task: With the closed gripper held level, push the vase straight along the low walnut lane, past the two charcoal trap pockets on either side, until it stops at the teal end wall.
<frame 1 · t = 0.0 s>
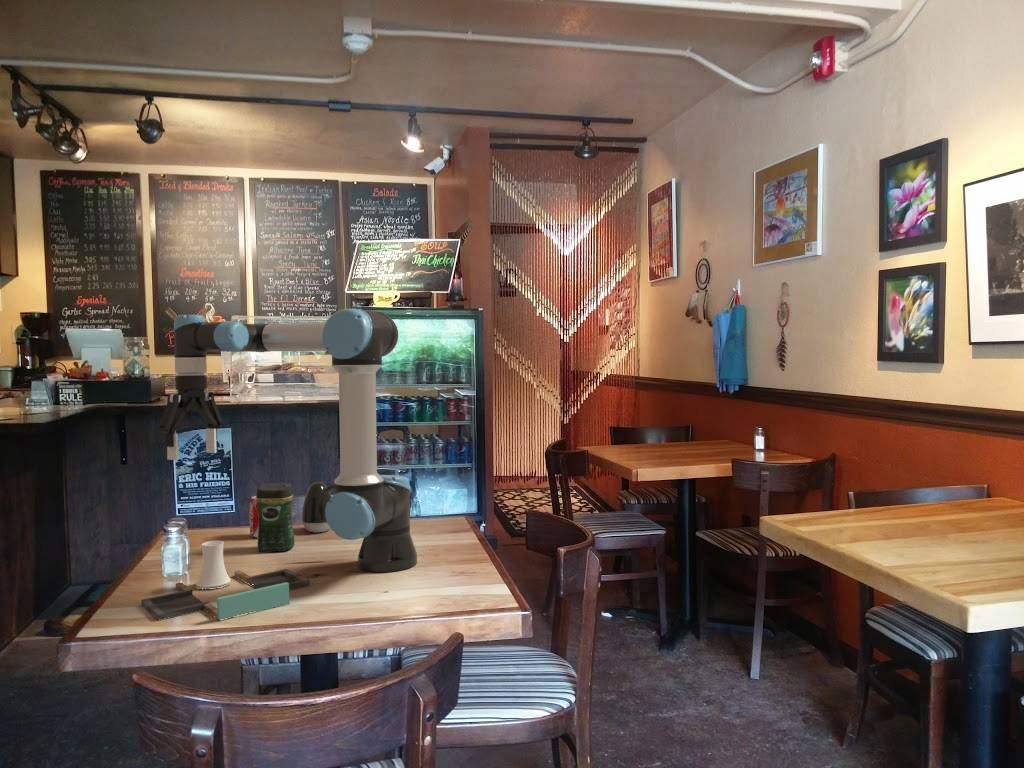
hand: (192, 456, 184), 28 cm above the table, tool pointing down, fingers open, 13 cm apart
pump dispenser: (319, 531, 219), on the table
soda can: (262, 537, 212), on the table
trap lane: (228, 594, 159), on the table
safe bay: (242, 603, 153), on the table
vase: (213, 586, 166), on the table
coffee jar: (276, 549, 198), on the table
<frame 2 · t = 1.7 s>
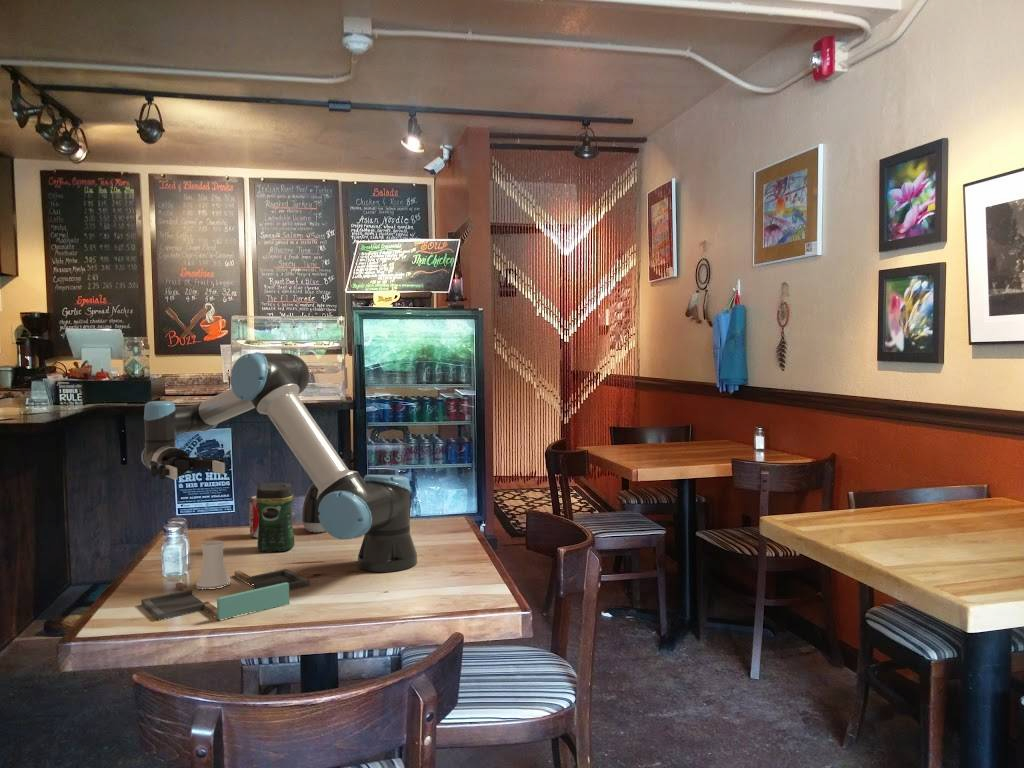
hand: (199, 471, 171), 26 cm above the table, tool horizontal, fingers open, 10 cm apart
nothing on the table moved.
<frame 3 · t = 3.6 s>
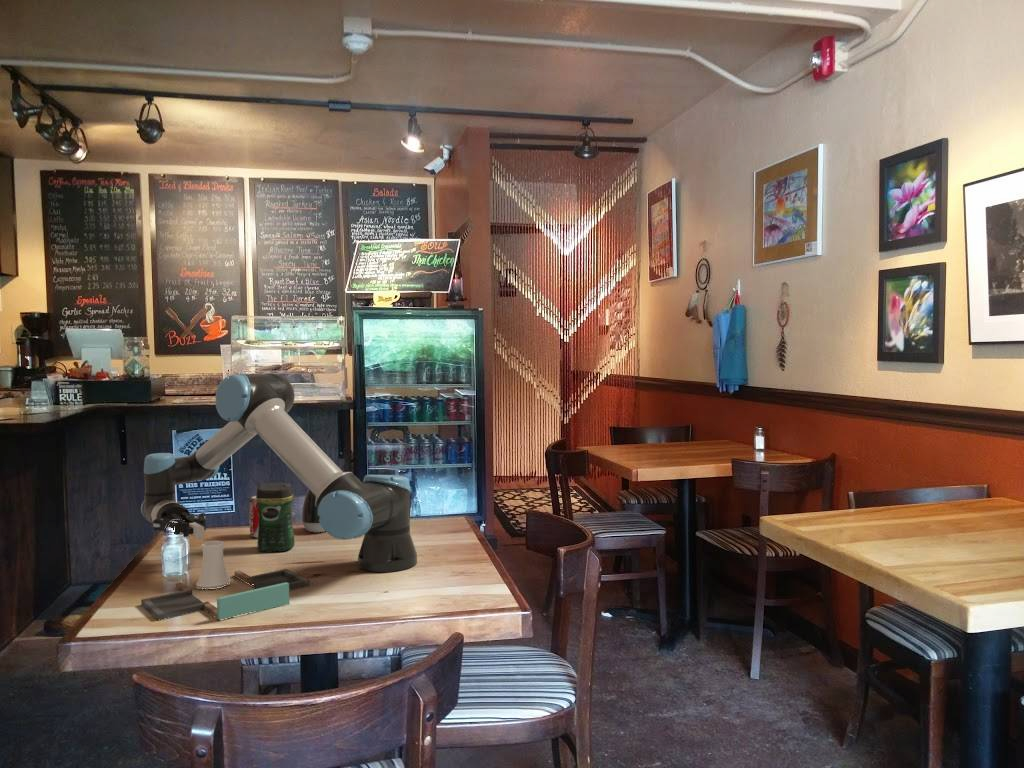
hand: (201, 533, 171), 11 cm above the table, tool horizontal, fingers closed
nothing on the table moved.
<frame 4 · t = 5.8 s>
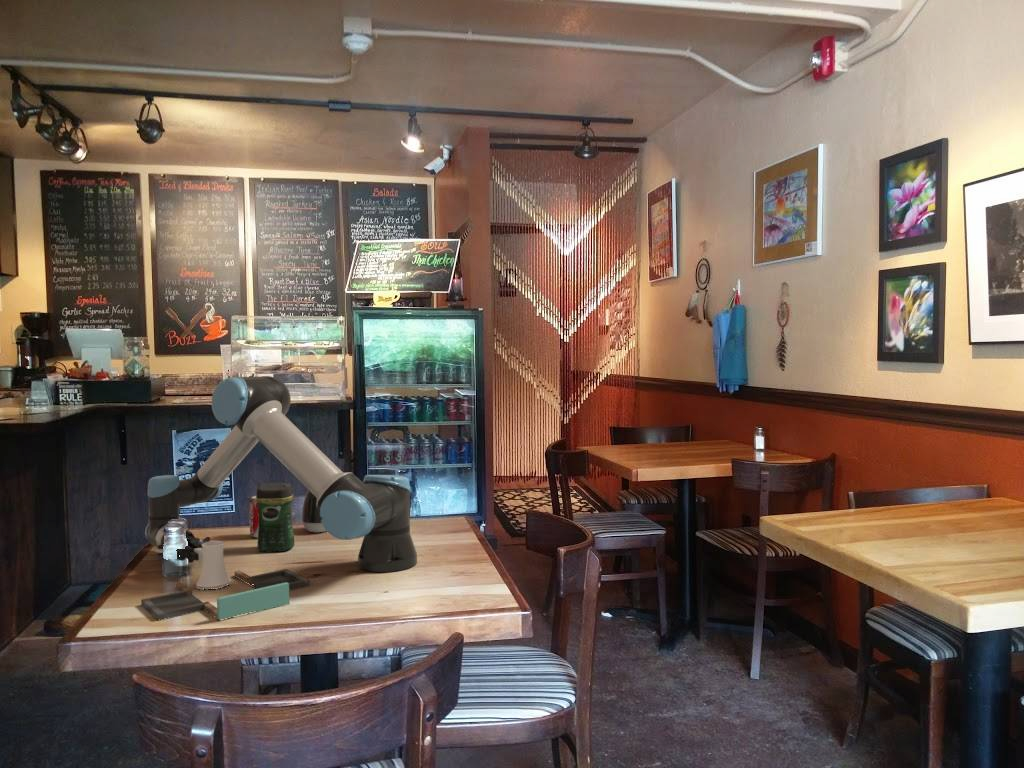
hand: (206, 559, 167), 6 cm above the table, tool horizontal, fingers closed
vase: (213, 586, 166), on the table, touching gripper
everything else where it was.
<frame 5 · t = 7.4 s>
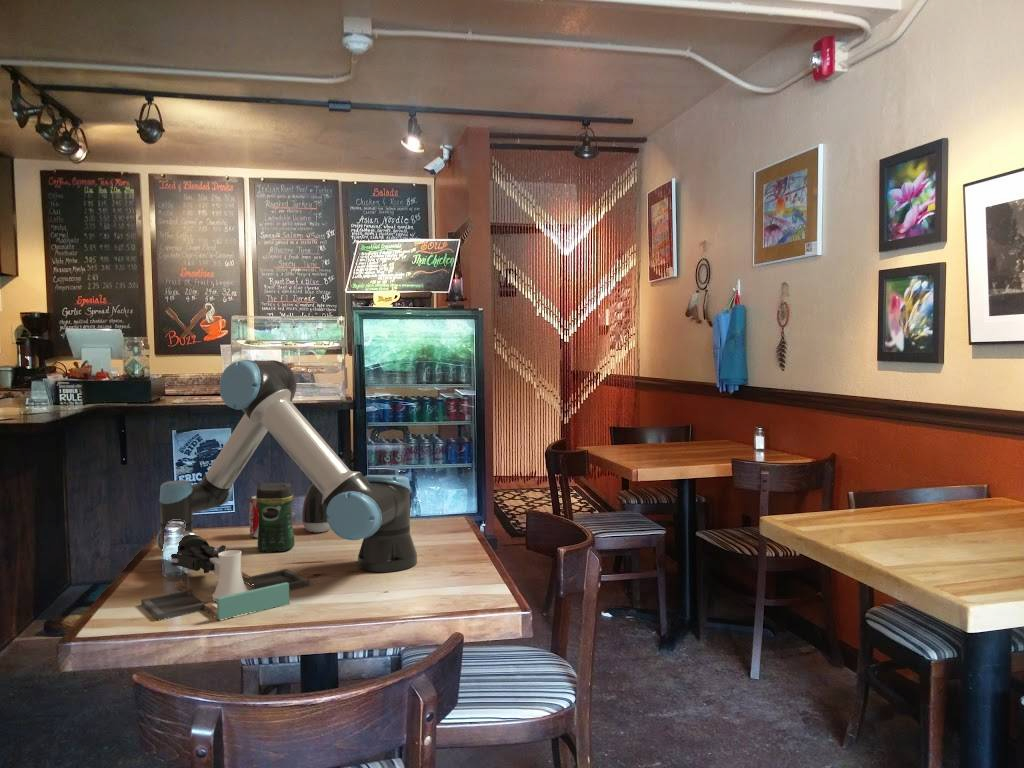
hand: (223, 569, 159), 6 cm above the table, tool horizontal, fingers closed
vase: (230, 598, 157), on the table, touching gripper
everything else where it was.
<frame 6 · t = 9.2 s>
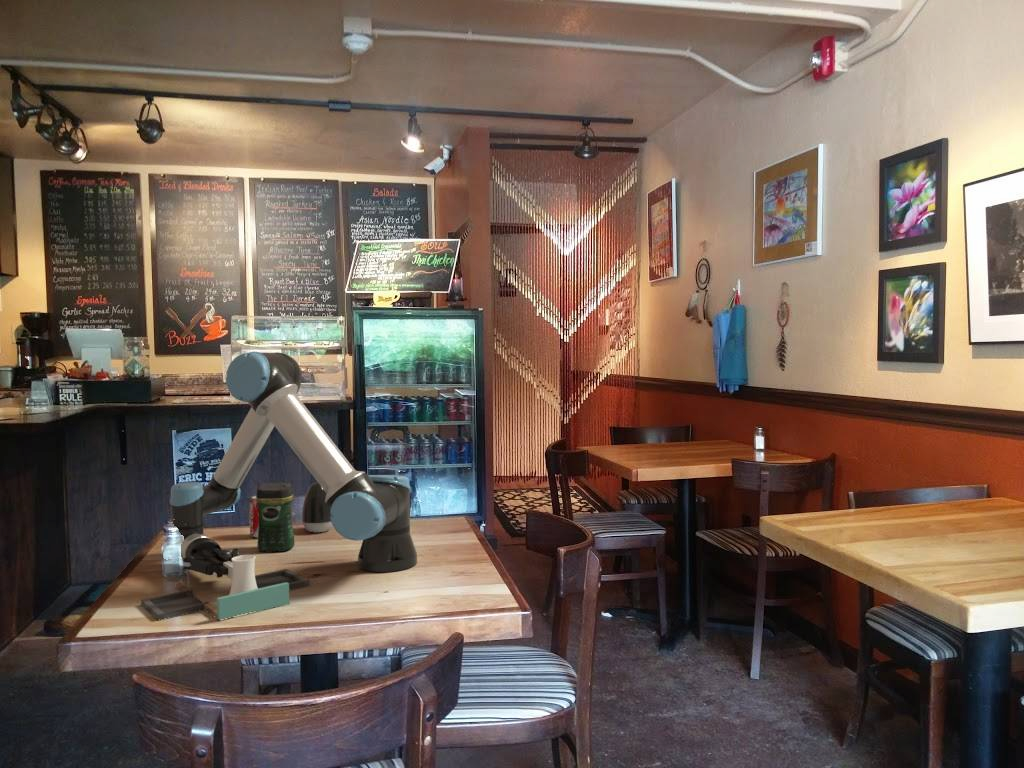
hand: (237, 573, 155), 6 cm above the table, tool horizontal, fingers closed
vase: (244, 604, 153), on the table, touching gripper
everything else where it was.
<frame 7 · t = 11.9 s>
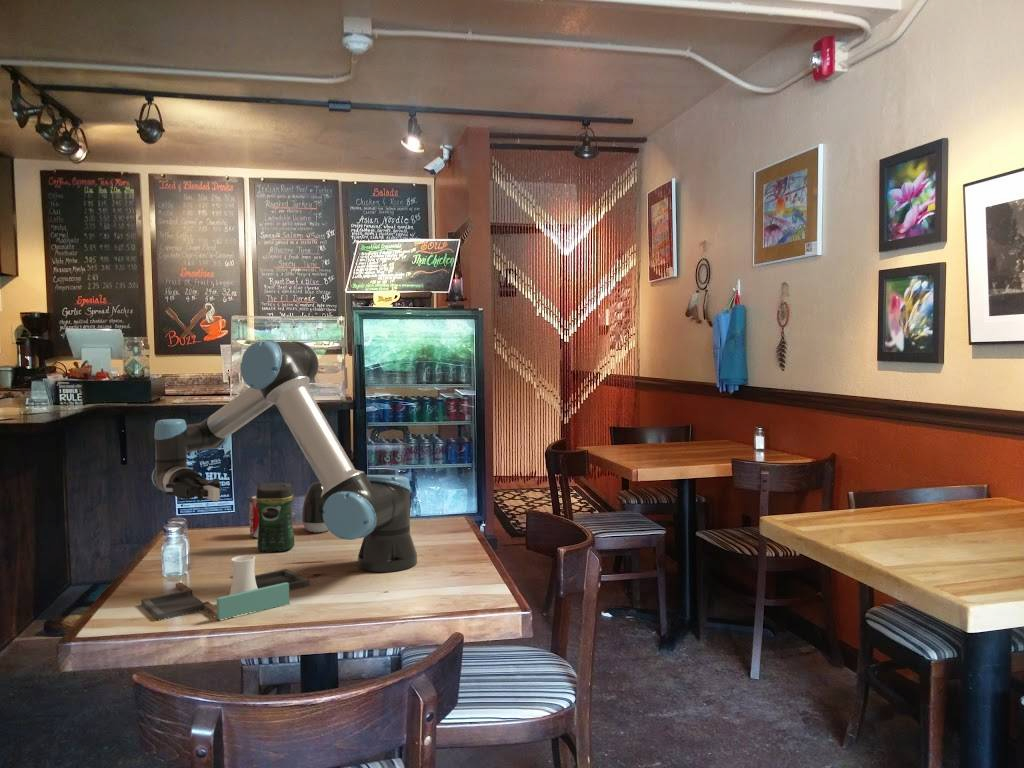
hand: (216, 494, 163), 22 cm above the table, tool horizontal, fingers closed
vase: (244, 604, 153), on the table
everything else where it was.
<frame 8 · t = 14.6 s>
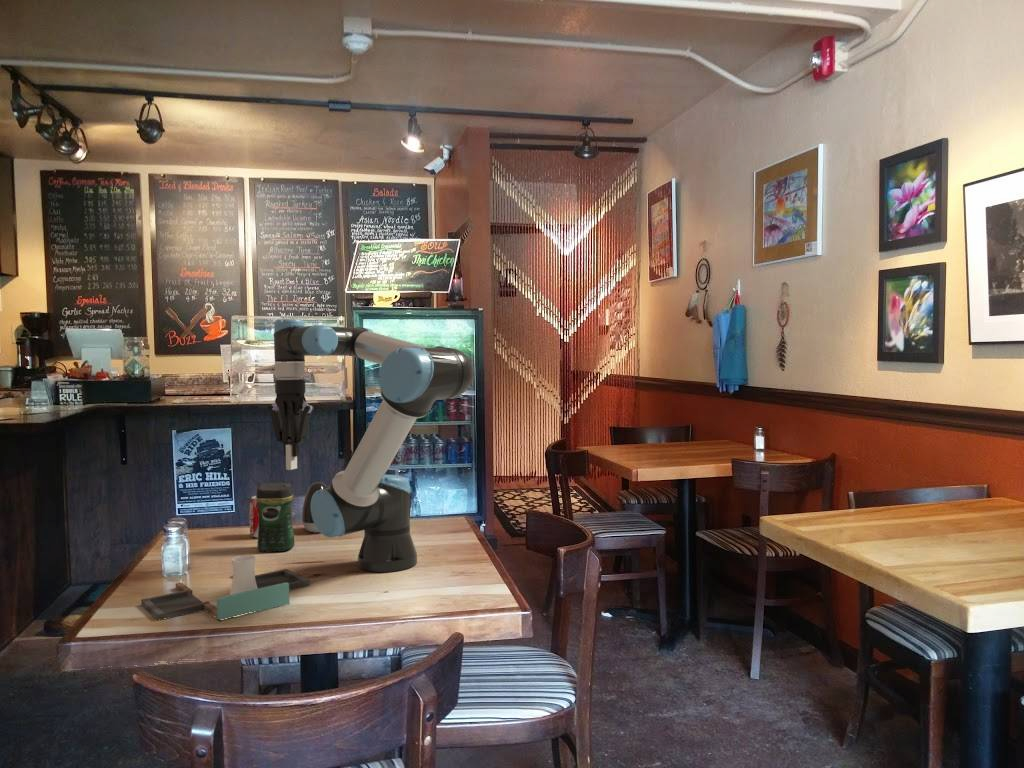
hand: (291, 468, 185), 24 cm above the table, tool pointing down, fingers closed
nothing on the table moved.
at the end: vase 0.4 cm from the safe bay (horizontally); vase tilted 0°; vase moved 17.6 cm from its start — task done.
